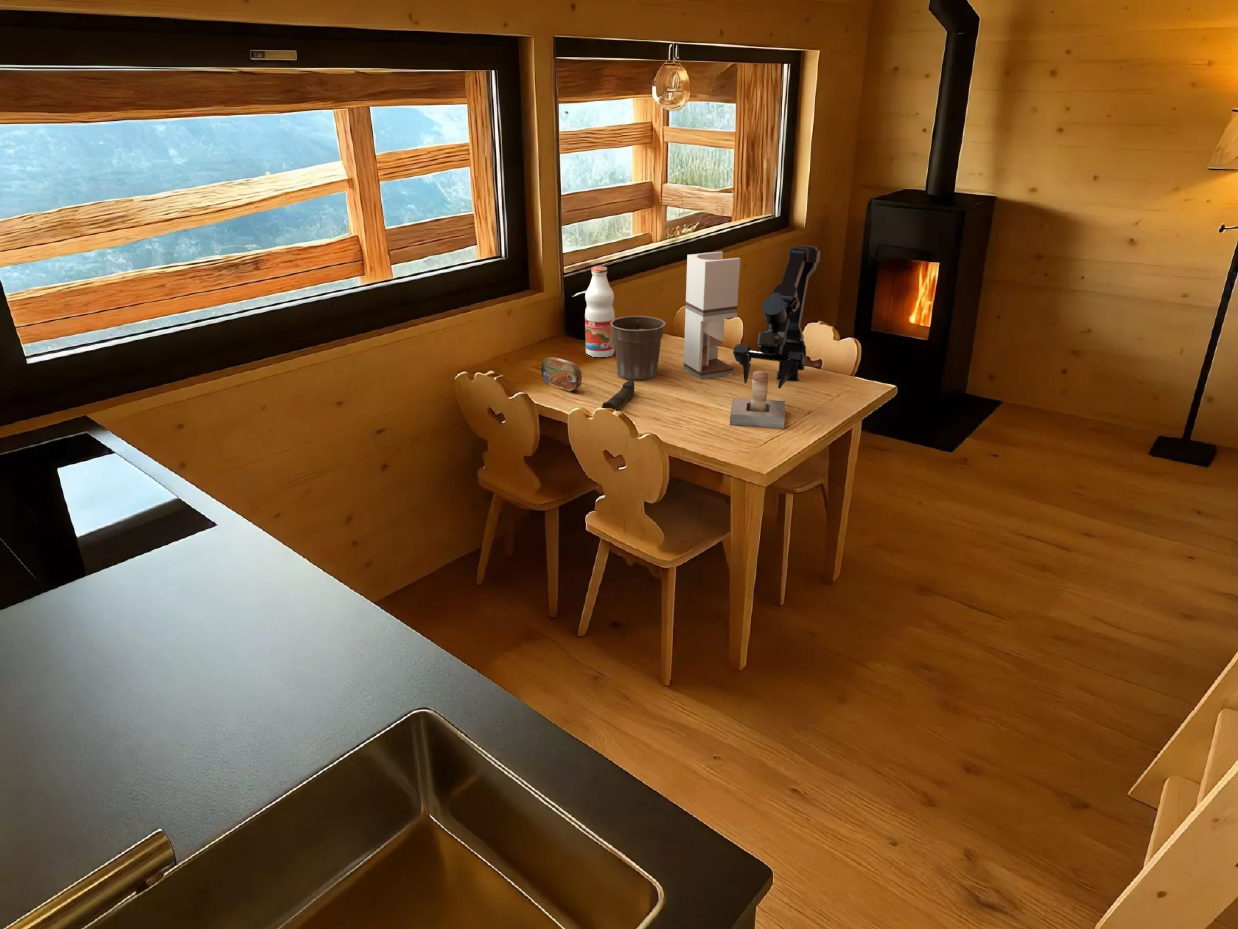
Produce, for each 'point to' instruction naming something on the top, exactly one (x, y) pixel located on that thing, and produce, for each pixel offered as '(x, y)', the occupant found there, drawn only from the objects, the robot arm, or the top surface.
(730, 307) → the white tower stand
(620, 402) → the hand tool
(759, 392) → the beech pin
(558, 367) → the tin
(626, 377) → the plant pot
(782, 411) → the square hole block
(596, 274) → the fruit juice
